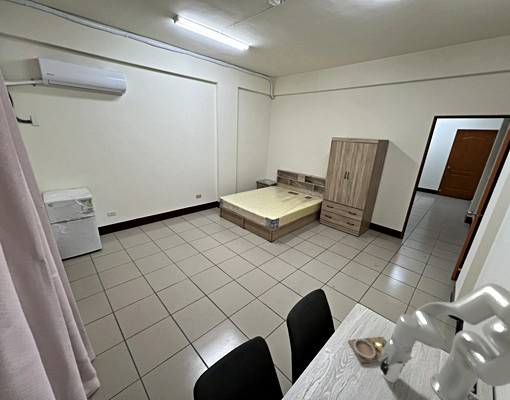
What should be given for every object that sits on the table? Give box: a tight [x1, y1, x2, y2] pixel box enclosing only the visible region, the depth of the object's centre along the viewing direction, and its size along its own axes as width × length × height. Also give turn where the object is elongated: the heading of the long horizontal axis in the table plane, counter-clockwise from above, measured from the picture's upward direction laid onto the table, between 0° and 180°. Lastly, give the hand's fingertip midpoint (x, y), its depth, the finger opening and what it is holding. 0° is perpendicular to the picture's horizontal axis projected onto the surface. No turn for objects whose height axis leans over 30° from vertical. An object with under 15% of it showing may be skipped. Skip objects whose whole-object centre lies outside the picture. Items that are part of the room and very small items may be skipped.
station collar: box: [353, 338, 376, 360], centre depth 106 cm, size 10×10×1 cm
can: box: [380, 361, 404, 383], centre depth 95 cm, size 6×6×12 cm
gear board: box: [348, 336, 388, 365], centre depth 107 cm, size 20×11×2 cm, turn 99°
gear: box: [372, 336, 388, 354], centre depth 107 cm, size 9×9×4 cm
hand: (390, 370), depth 96 cm, fingers closed on can, 6 cm apart
